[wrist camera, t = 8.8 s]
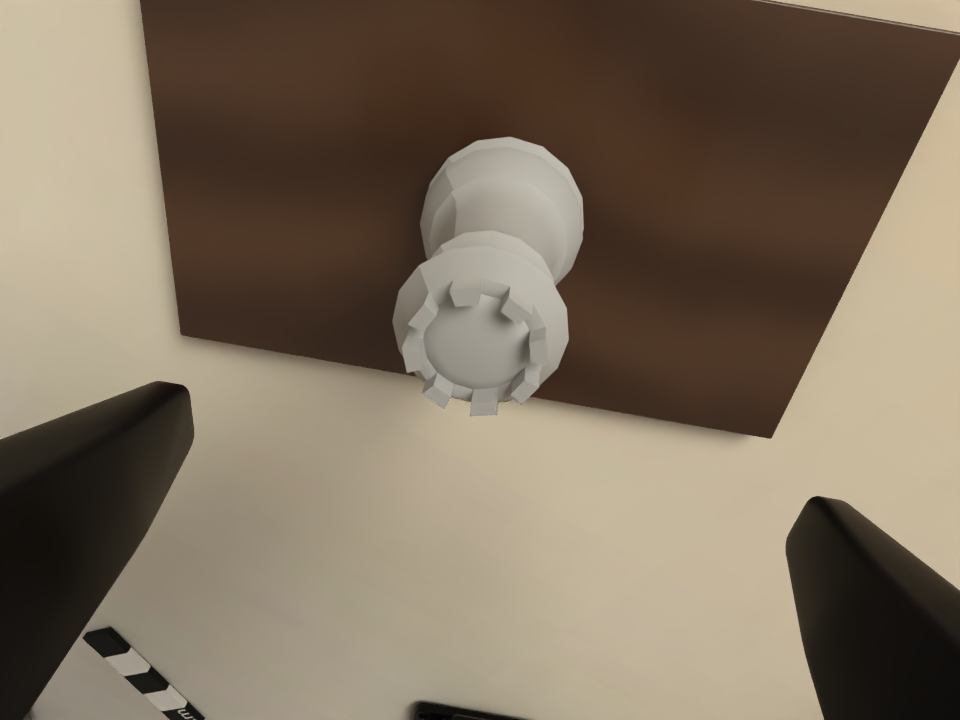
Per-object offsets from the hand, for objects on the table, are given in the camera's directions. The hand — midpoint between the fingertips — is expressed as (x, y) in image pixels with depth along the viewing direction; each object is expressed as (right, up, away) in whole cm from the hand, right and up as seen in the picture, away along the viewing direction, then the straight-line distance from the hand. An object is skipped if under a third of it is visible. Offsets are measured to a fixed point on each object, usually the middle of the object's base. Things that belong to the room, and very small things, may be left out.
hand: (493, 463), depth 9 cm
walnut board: (+1, +6, +9) cm, 11 cm away
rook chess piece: (+1, +6, +9) cm, 10 cm away
